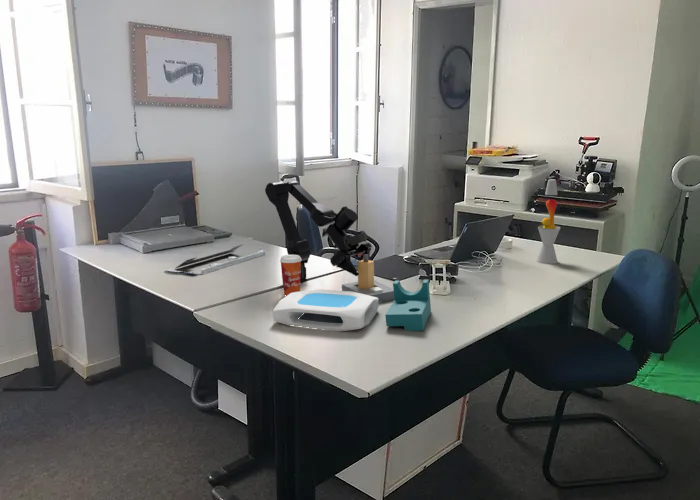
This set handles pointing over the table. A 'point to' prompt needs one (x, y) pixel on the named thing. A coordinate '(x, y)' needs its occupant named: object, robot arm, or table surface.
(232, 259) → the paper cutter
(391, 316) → the teal l-shaped bracket
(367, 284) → the plug
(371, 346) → the table surface
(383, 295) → the socket plate
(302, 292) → the document scanner
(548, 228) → the lava lamp
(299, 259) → the paper cup
